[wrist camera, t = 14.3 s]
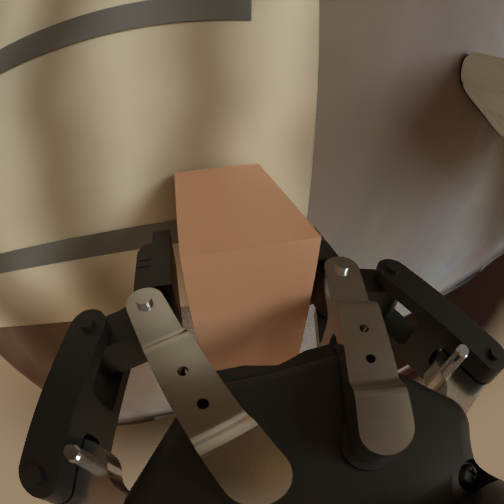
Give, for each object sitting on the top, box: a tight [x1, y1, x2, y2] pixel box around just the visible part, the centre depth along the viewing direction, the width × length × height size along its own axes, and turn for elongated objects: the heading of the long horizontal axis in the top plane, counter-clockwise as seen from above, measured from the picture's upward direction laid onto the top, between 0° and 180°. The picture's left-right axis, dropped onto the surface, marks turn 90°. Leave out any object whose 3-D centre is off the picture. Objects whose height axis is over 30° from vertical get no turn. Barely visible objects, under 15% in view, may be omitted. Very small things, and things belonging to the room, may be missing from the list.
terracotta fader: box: [174, 164, 321, 371], centre depth 11 cm, size 4×6×6 cm, turn 0°
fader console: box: [0, 0, 319, 327], centre depth 10 cm, size 22×20×2 cm
